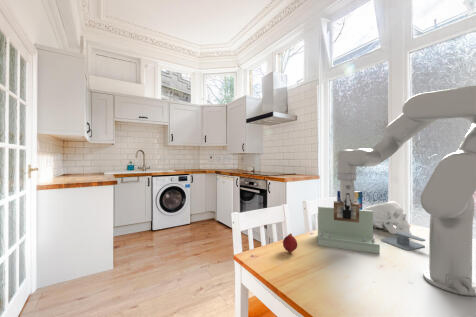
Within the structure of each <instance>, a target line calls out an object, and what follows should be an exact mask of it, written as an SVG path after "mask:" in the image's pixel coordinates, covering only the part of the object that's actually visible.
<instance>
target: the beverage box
mask: <svg viewBox="0 0 476 317" xmlns="http://www.w3.org/2000/svg"><path fill="white" fill-rule="evenodd" d="M336 192H337V194H336V196H337V198H336V201H340V202H342V201H341V198H340V190H336ZM354 194H355V203H359V210H363V191H362V190H361V191H359V190H355V189H354Z"/></svg>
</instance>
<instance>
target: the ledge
mask: <svg viewBox="0 0 476 317" xmlns="http://www.w3.org/2000/svg"><path fill="white" fill-rule="evenodd" d="M317 245H318V246H322V247H329V248H330V247H331V248H338V249H343V250H344V249H345V250H351V251H359V252H366V253H371V254H377V255H378V254H379V255H380V254H381V253H380V248H381V247H380V243H377V242H376V240H375V238H374V226H373V211H369V210H365V209H362V210H359V223H357V222H348V221H338V220H334V207H329V206H320V205H319V206H317Z"/></svg>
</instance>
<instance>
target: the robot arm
mask: <svg viewBox="0 0 476 317" xmlns="http://www.w3.org/2000/svg"><path fill="white" fill-rule="evenodd" d="M458 118H463V119H465V120H468V121H470V123H471V125H470V129H469V130H468V131H467V133H466V134H465V136H464V137H463V139H462V141H461V143H460V145H459V147H458V148H457V150H456V151H455V152H451V153H450V154H447V155H446V156H444V157H443V158H442V159H440V161H439V162H438V163H437V165H436V166H435V168H434V170H433V171H432V174H431V176H430V177H429V180H428V181H427V182H426V184H425V186H424V188H423V190H422V193H421V194H420V195H421V196H420V205H421V207H422V209H424V211H425V212H426V213H427V214H428V215H430V217H429V235H428V237H429V239H428V240H429V244H428V245H429V250H428V251H429V257H428V258H429V264H428V265H429V266H428V268H429V269H425V270H424V271H422V272H423V273H422V276H423V279H424V280H426V281H427V282H428V283H429V284H431V285H433V286H435V287H437V288H439V289H441V290H444V291H447V292H449V293H452V294H455V295H456V294H457V295H460V296H461V295H462V296H468V297H470V296H471V297H474V296H476V283H475V282H473V228H474V227H473V225H474V214H475V200H474V196H473V195H474V194H475V192H476V85H467V86H460V87H454V88H448V89H441V90H436V91H435V90H434V91H429V92H423V93H422V92H421V93H418V94H415V95H413V96H411V97H409V98H408V99H406V101H405V102H404V104H403V105H402V113H401V114H400V115H399V116H398V117H396V118H395V119H394V120H392V121H391V122H390V123H388V124H387V125H386V126H385V128H384V132H385V133H384V135H383V138H381V140H380V141H379V142H377V143H376V144H375V145H373V147H371V148H357V149H340V150H338V152H337V181H339V191H340V198H341V201H342V202H343V219H351V202H352V203H353V204H354V203H355V194H354V190H355V182H356V181H357V167H360V168H362V167H363V168H364V167H365V168H366V167H376V166H378V165H381V163H383V162H384V161H386V160H387V159H388V158H390V157H392V156H393V155H394V154H396V152H398V151H399V149H401V148H402V146H404V144H405V143H406V142H407V141H409V140H411V139H412V138H413V137H414V136H416V135H417V134H419V133H420V132H422V131H423V130H424V129H426V128H427V127H429V126H430V125H431V124H433V123H434V122H436V121H437V120H440V119H441V120H443V119H444V120H445V119H458ZM345 202H346V203H345ZM345 204H346V205H345Z"/></svg>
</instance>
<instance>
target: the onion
mask: <svg viewBox="0 0 476 317" xmlns="http://www.w3.org/2000/svg"><path fill="white" fill-rule="evenodd" d="M282 245H283V248H284V250H286V252H288V253H293V252H294V251H296V250H297V248H298V241H297V238H295V237H294V236H293V234H292V233H288V234H287V235H286V236H285V237H284V239H283V241H282Z"/></svg>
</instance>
